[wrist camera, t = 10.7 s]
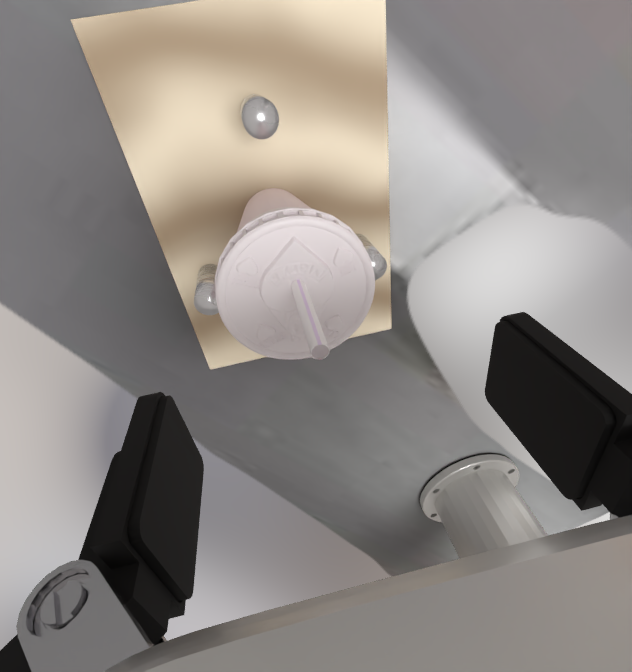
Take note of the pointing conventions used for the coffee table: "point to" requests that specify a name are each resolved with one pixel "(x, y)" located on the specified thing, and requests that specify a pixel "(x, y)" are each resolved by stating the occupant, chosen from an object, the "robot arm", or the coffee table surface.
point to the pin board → (219, 154)
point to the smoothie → (292, 279)
